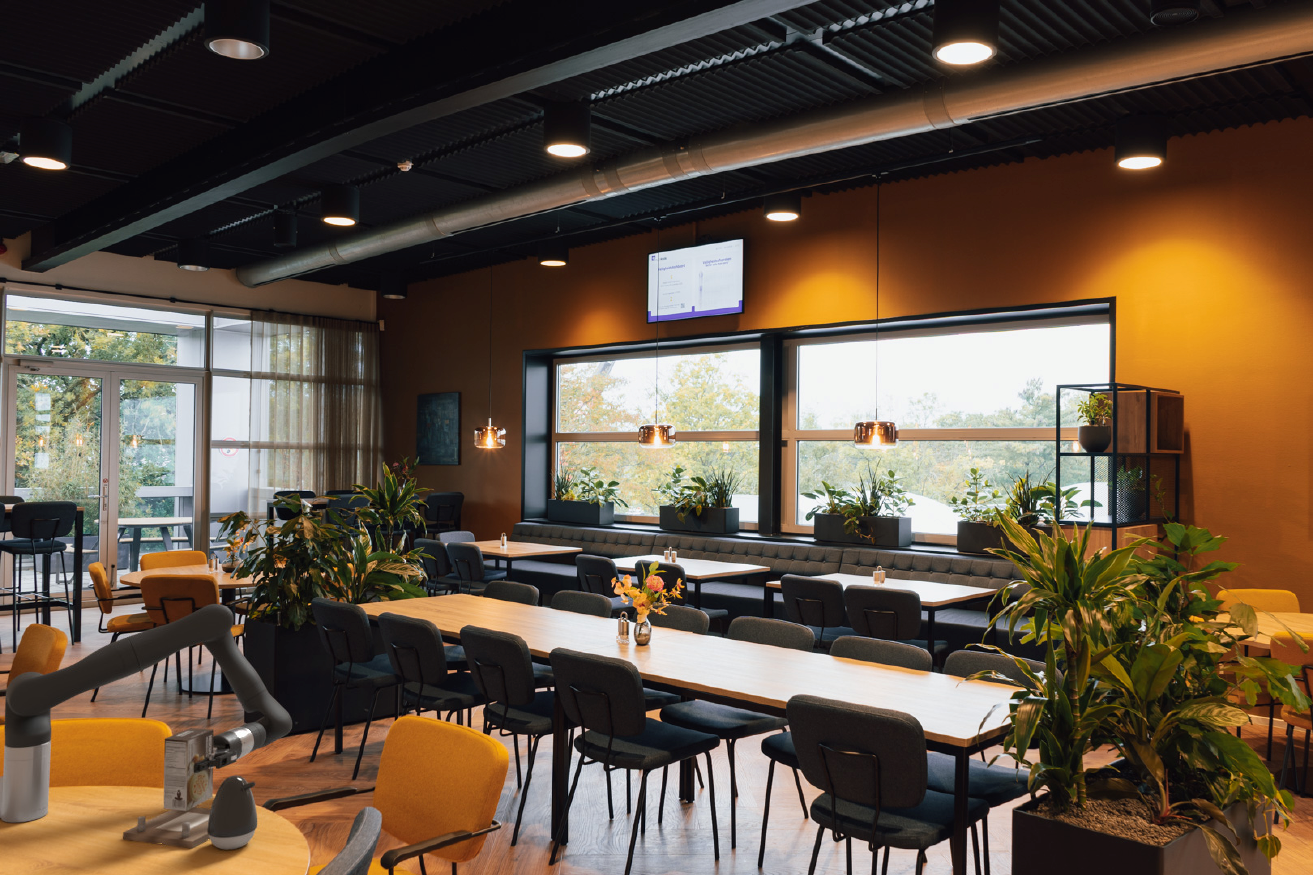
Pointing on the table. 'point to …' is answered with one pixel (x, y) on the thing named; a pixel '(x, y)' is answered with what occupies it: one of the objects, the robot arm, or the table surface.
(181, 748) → the coffee box
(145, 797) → the table surface
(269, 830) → the table surface
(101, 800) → the table surface
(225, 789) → the pump dispenser
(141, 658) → the robot arm
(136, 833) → the peg stand
